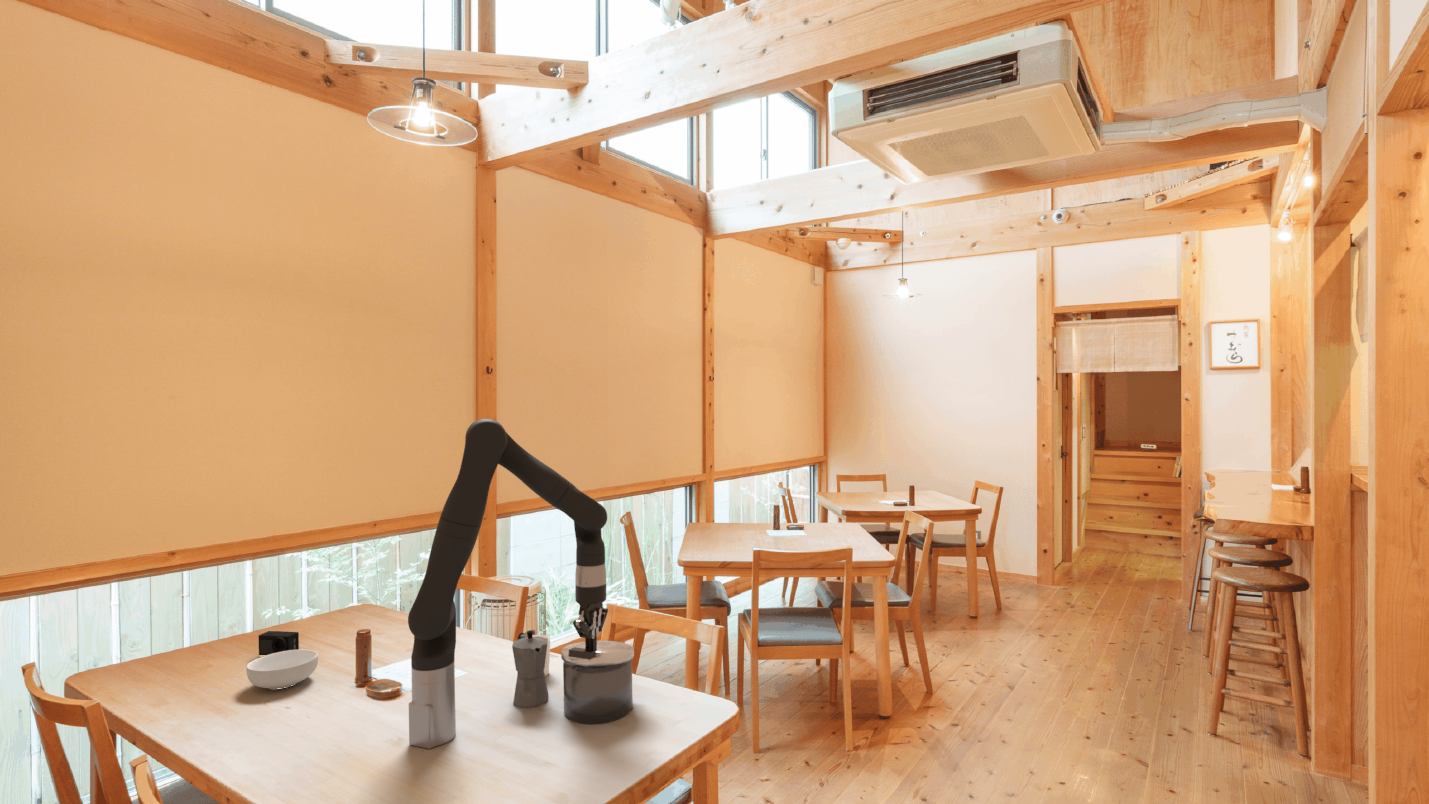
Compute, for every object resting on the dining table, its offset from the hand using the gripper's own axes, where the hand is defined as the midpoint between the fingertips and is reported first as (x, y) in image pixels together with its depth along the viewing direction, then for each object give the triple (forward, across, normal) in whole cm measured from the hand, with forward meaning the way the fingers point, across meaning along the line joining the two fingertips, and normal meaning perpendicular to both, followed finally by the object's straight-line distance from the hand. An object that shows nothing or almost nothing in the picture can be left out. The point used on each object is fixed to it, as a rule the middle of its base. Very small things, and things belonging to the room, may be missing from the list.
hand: (591, 652), depth 170 cm
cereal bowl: (+16, -13, +91) cm, 93 cm away
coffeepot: (+15, +2, +20) cm, 25 cm away
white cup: (+15, +16, +28) cm, 36 cm away
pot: (+15, +3, 0) cm, 15 cm away
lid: (+2, +4, 0) cm, 4 cm away
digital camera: (+15, +2, +113) cm, 114 cm away
